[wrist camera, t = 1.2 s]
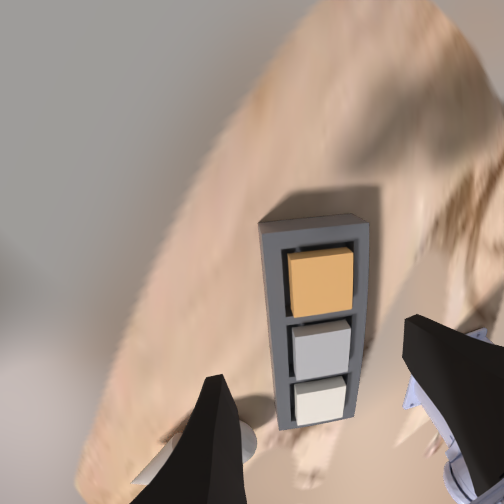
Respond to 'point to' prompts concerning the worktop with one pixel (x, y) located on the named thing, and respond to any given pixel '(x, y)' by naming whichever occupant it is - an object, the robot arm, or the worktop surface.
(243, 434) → the ice cream cone
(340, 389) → the cream key
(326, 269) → the amber key
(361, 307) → the grey compartment tray
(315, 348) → the grey key
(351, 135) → the worktop surface
